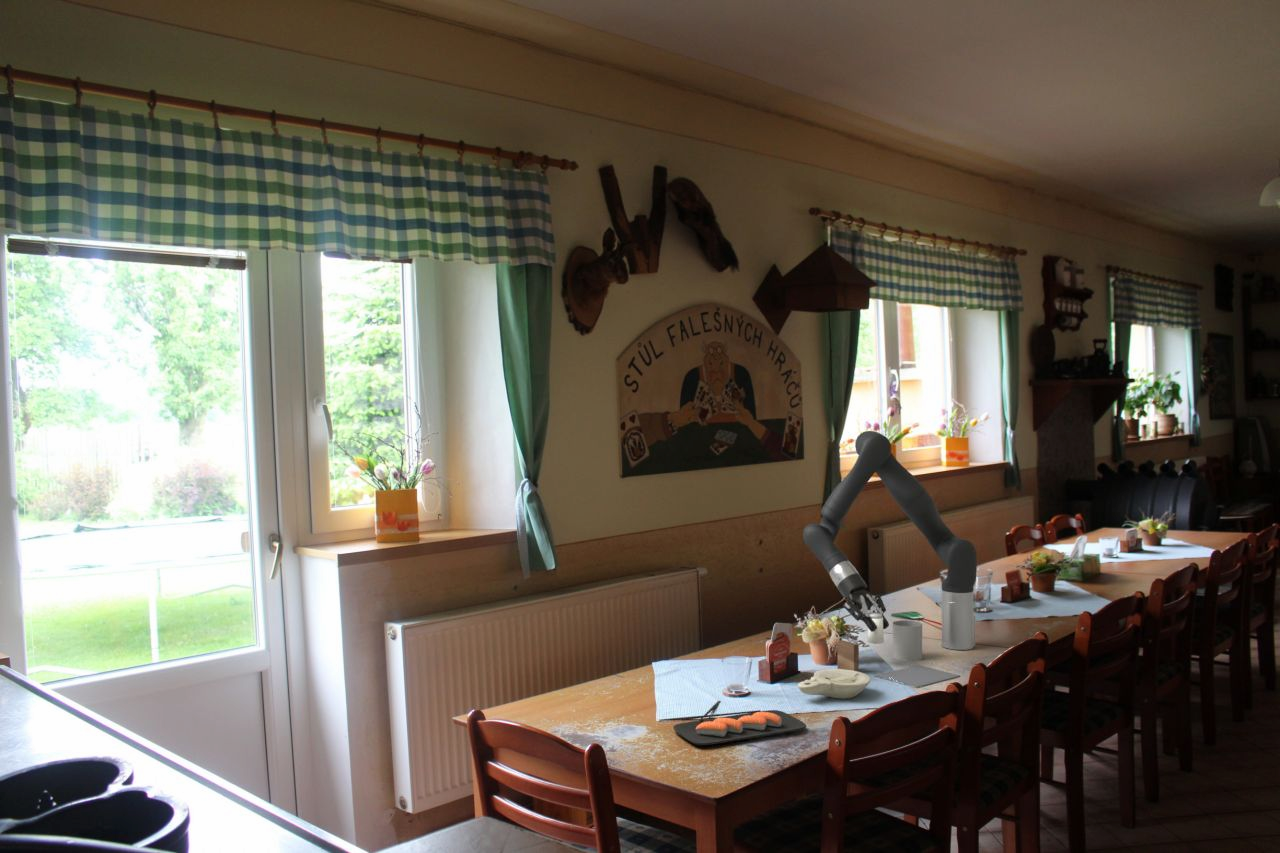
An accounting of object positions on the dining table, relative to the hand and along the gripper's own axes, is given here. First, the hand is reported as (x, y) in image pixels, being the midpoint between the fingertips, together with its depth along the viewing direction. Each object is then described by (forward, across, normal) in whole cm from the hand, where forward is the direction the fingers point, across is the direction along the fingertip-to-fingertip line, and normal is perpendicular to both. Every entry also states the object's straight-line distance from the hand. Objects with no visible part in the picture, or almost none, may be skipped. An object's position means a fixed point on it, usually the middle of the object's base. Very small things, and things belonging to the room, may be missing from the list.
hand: (880, 628), depth 280 cm
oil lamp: (+16, -32, -1) cm, 36 cm away
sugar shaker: (+2, 0, +4) cm, 5 cm away
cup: (+6, +14, +9) cm, 18 cm away
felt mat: (+17, 0, -2) cm, 17 cm away
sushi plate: (+15, -67, 0) cm, 69 cm away
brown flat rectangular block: (+6, -11, +9) cm, 16 cm away
